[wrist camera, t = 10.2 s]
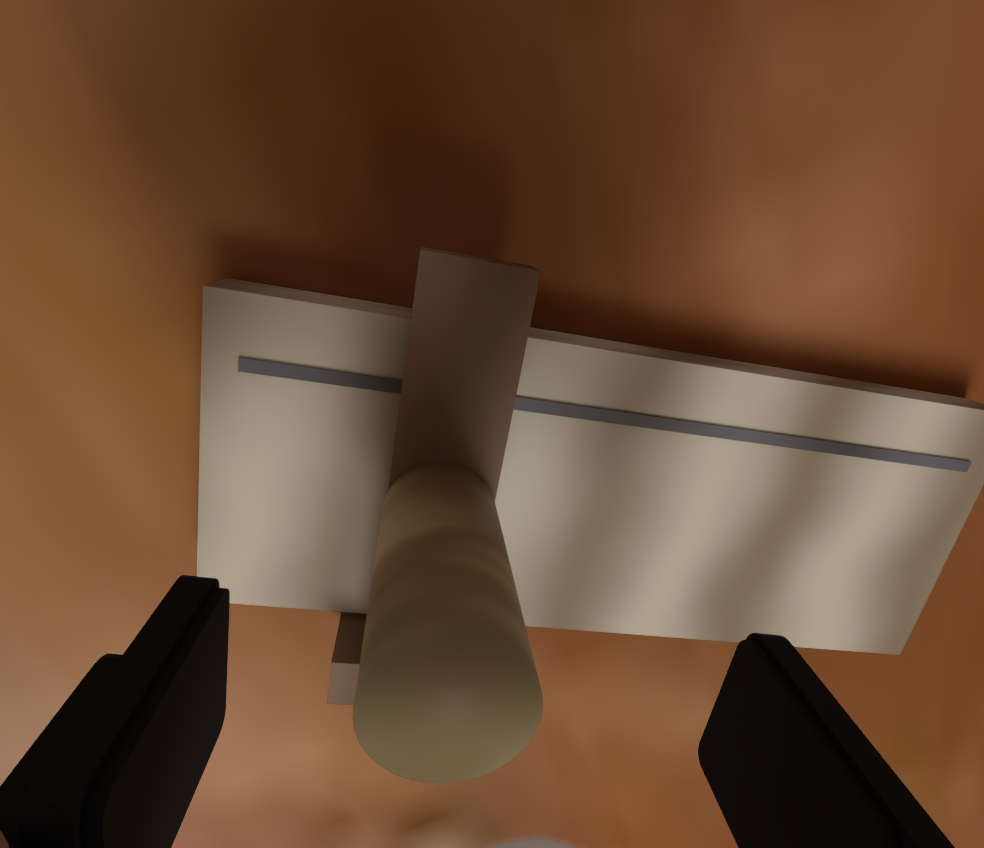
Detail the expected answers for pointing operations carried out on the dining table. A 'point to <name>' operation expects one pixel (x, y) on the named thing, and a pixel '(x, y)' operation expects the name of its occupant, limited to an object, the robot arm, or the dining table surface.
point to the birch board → (588, 478)
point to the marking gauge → (447, 542)
